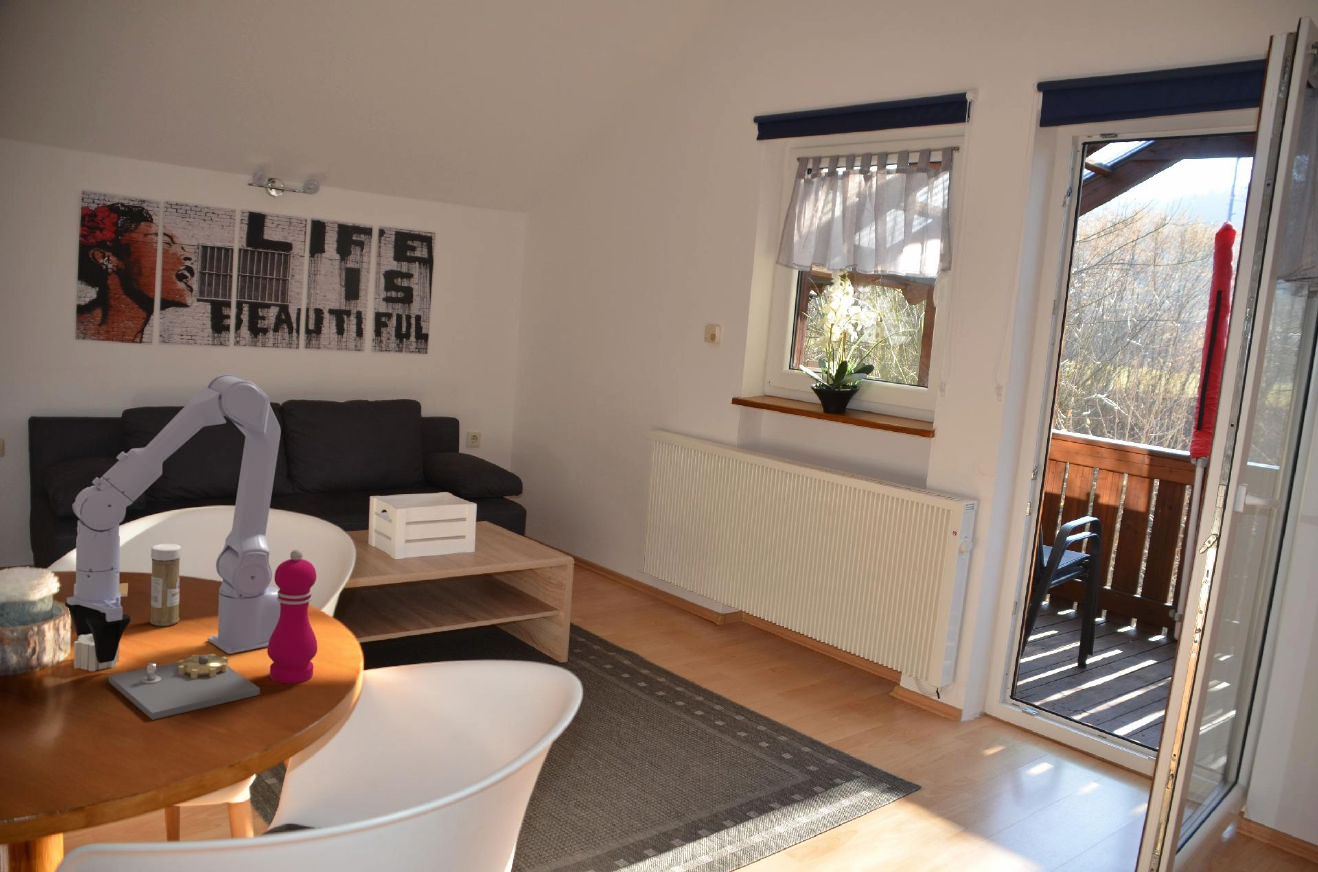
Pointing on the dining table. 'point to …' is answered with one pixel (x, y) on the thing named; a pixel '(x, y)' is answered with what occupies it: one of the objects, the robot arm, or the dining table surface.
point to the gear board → (183, 685)
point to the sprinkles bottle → (165, 584)
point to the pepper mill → (293, 622)
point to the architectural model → (123, 589)
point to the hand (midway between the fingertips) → (96, 653)
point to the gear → (89, 655)
